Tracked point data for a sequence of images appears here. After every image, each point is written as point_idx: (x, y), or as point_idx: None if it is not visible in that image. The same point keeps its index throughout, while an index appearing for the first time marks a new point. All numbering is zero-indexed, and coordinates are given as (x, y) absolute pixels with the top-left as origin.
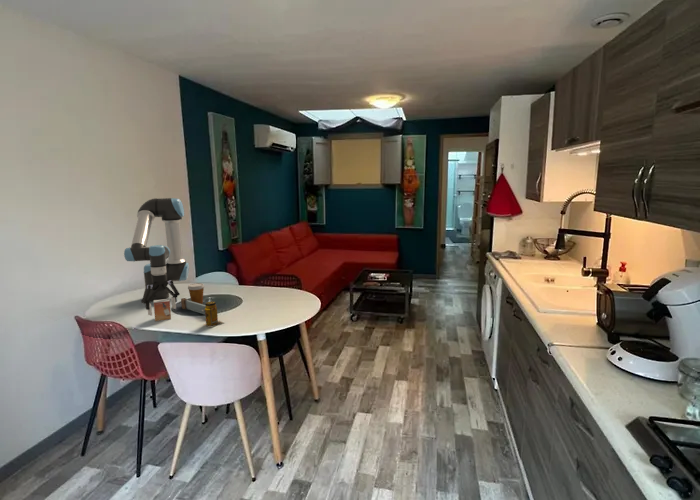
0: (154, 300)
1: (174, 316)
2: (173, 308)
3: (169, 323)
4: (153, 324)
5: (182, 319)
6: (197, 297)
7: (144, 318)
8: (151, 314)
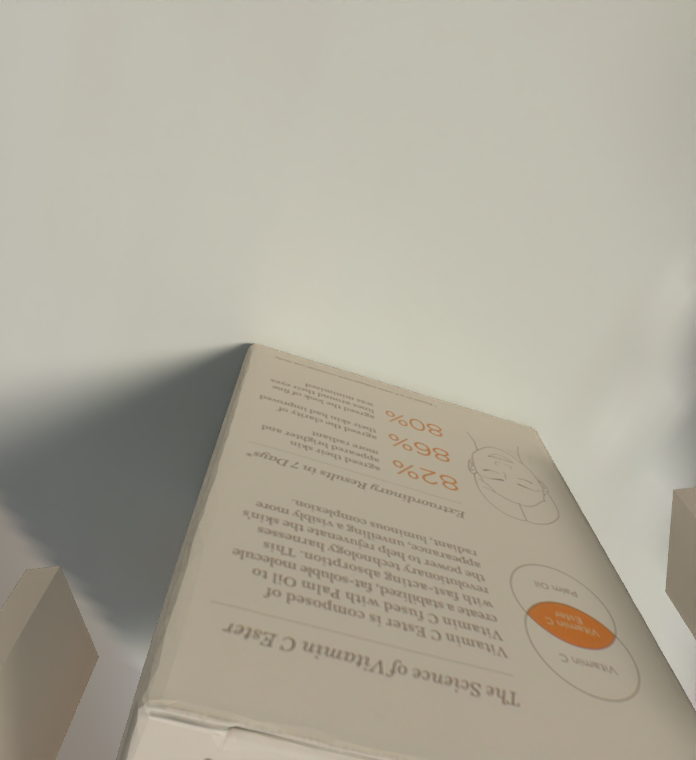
0: (164, 749)
1: (573, 491)
2: (669, 546)
3: None
4: (138, 613)
5: None
6: None
7: (58, 153)
8: (78, 676)
